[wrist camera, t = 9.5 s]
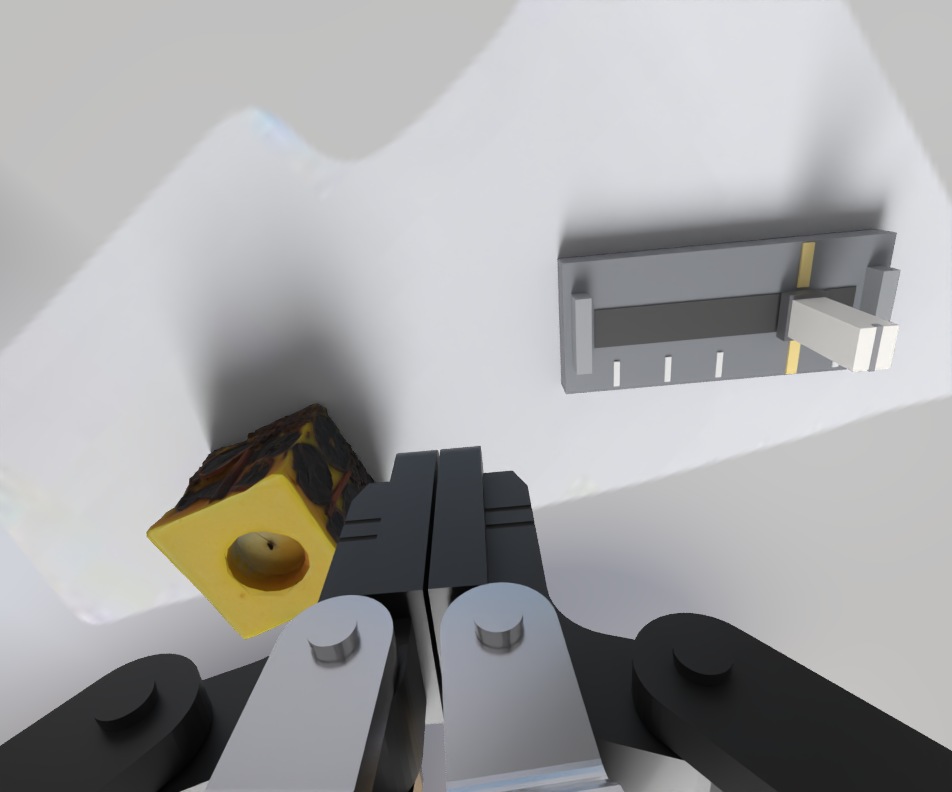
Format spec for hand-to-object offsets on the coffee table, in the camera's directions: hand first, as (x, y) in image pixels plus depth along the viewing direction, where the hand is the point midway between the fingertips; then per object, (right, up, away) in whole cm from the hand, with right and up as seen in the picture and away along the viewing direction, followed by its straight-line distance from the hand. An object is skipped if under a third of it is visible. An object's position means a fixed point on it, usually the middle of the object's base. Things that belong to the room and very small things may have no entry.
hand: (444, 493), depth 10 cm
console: (+17, +8, +29) cm, 34 cm away
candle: (-13, -4, +33) cm, 36 cm away
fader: (+22, +7, +26) cm, 35 cm away
